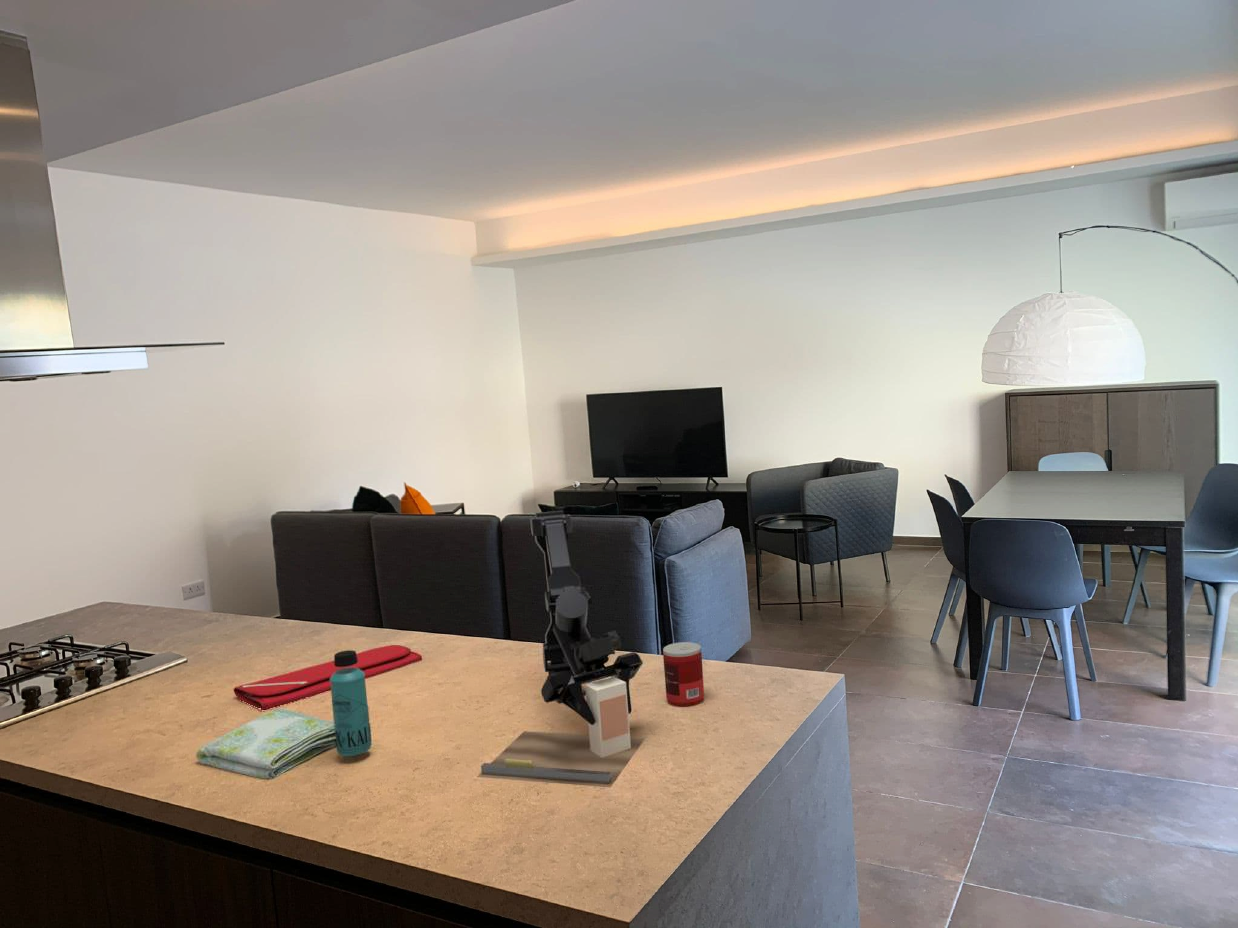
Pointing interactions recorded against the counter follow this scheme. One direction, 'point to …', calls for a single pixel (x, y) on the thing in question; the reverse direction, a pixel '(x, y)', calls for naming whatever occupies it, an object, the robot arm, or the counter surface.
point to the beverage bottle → (350, 706)
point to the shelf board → (564, 755)
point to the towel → (269, 744)
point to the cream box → (608, 716)
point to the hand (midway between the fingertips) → (612, 718)
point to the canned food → (683, 674)
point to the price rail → (544, 772)
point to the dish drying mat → (321, 677)
